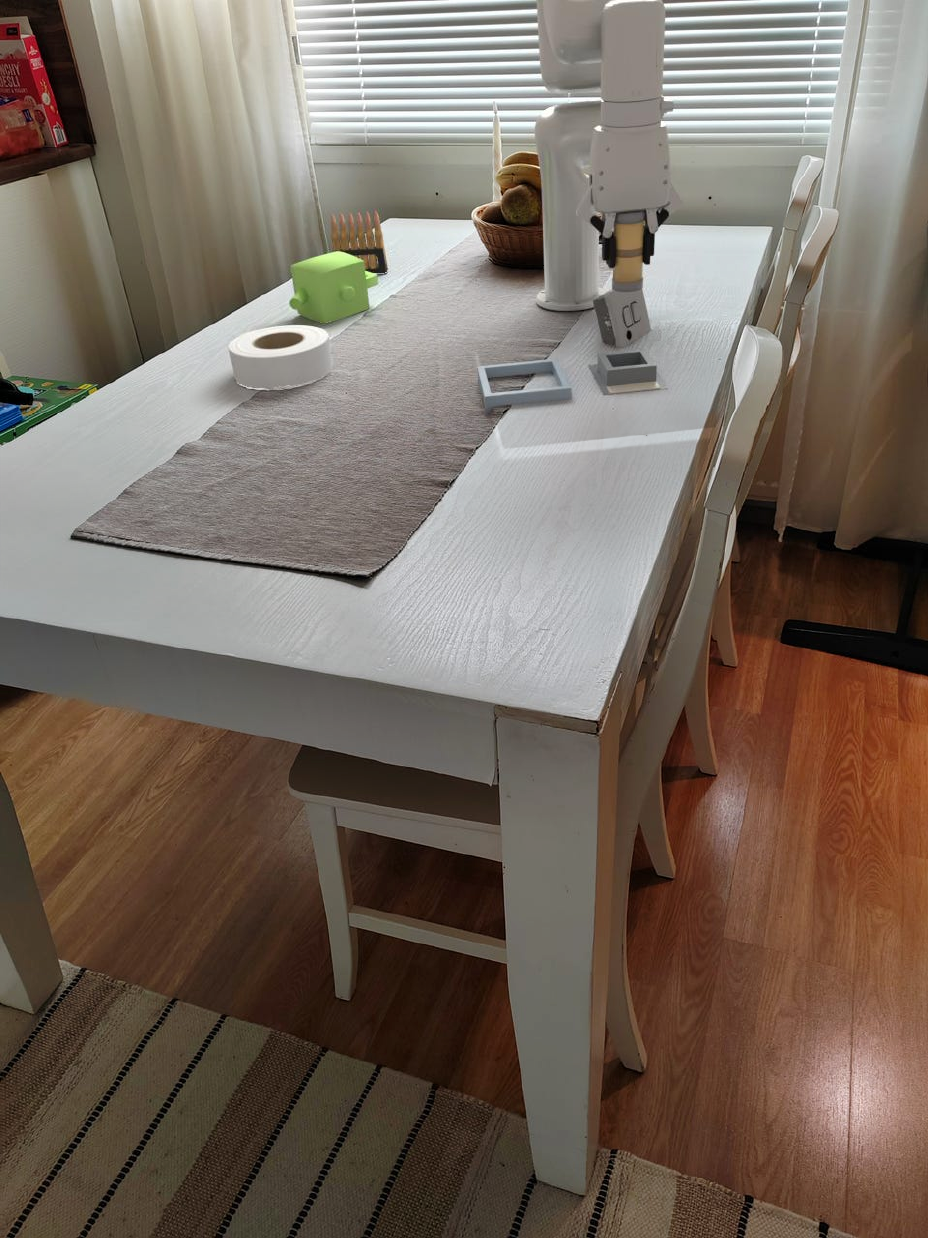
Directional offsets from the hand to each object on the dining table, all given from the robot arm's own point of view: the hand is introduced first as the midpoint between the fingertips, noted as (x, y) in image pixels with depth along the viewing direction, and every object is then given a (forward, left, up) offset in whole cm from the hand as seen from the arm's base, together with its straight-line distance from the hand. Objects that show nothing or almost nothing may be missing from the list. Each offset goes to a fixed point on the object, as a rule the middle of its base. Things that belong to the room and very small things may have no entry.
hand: (627, 262), depth 133 cm
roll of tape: (-19, -51, -17) cm, 57 cm away
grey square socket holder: (0, 0, -17) cm, 17 cm away
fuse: (0, 0, -3) cm, 3 cm away
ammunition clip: (-73, -39, -17) cm, 84 cm away
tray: (0, -15, -17) cm, 23 cm away
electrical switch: (-17, +3, -17) cm, 24 cm away
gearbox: (-47, -44, -17) cm, 66 cm away
